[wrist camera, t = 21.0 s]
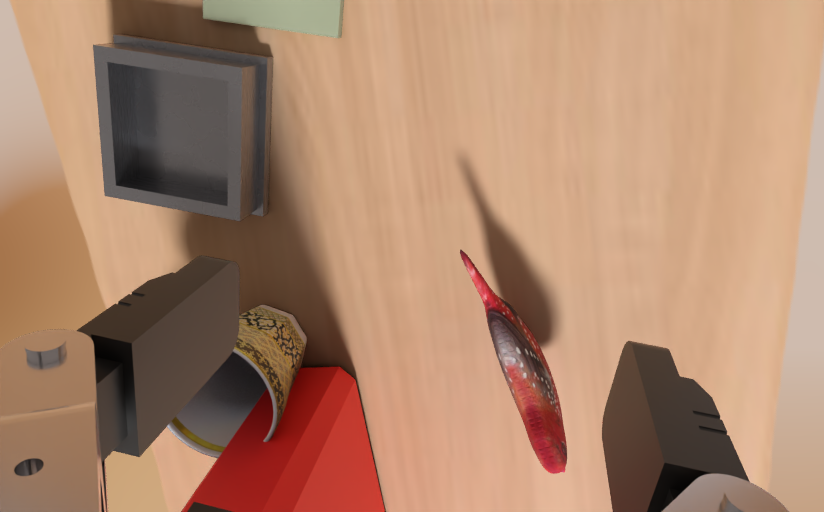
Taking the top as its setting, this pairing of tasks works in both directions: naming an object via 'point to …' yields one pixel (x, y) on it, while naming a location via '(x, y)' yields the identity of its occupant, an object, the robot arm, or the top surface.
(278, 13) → the rubber mat
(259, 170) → the socket block
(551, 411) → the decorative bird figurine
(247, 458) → the book
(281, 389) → the ceramic cup
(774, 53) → the top surface
